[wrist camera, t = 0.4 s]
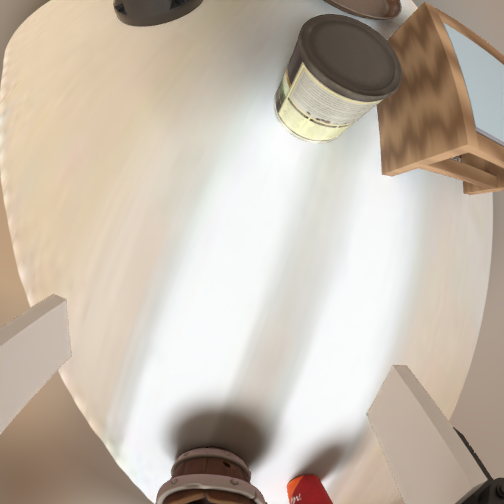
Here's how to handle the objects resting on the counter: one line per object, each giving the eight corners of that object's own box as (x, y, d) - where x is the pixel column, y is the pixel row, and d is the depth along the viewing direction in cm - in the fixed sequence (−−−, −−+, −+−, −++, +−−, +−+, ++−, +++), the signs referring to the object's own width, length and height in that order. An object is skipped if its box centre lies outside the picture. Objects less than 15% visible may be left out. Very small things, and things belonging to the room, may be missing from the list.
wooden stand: (370, 59, 33) (424, 1, 17) (455, 94, 35) (513, 64, 19) (381, 174, 34) (468, 144, 18) (469, 194, 36) (543, 185, 20)
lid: (439, 26, 19) (443, 22, 18) (506, 72, 20) (510, 70, 19) (470, 133, 19) (476, 131, 18) (530, 167, 21) (535, 166, 20)
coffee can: (261, 84, 32) (281, 15, 18) (329, 73, 33) (371, 15, 19) (289, 153, 33) (330, 104, 19) (358, 136, 34) (419, 94, 20)
